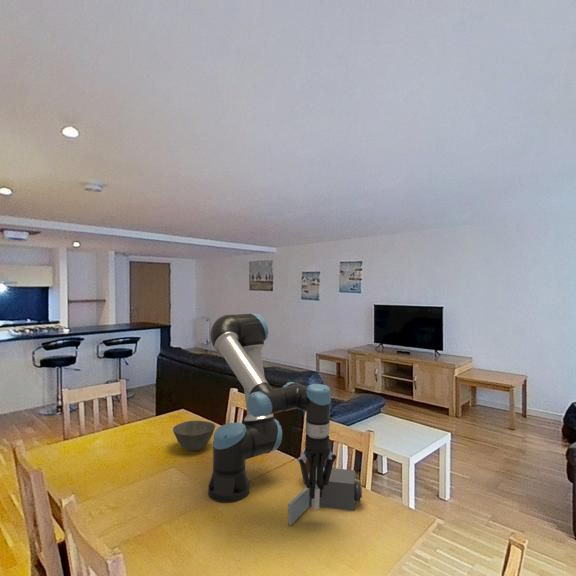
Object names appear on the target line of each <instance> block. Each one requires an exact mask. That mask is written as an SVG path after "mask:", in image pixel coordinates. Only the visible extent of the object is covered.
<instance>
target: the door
mask: <svg viewBox="0 0 576 576" xmlns="http://www.w3.org/2000/svg"><path fill="white" fill-rule="evenodd" d="M309 492H310V488H307V487H306V486H305V488H304V489H303V490H301V491H300V492H299V493H298V494H297V495H296V496H295V497H294V498H292V500H291V501H290V502H289V503H288V508H287V517H288V519H287V520H288V521H287V523H288V525H289V526H291V525H293V524H294V523H295V521H297V519H299V517H301V516H302V515H303V513H305V511H307V509H308V508H310V507H311V506H310V495H309Z"/></svg>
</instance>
